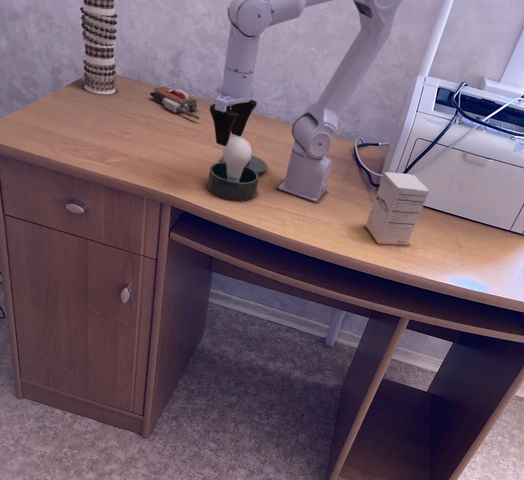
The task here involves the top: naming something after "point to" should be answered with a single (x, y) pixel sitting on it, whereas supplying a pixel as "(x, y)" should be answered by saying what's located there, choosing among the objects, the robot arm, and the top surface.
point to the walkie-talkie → (175, 100)
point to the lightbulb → (236, 157)
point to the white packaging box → (396, 208)
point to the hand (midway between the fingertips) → (229, 139)
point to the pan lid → (254, 164)
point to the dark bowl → (232, 183)
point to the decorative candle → (99, 45)
